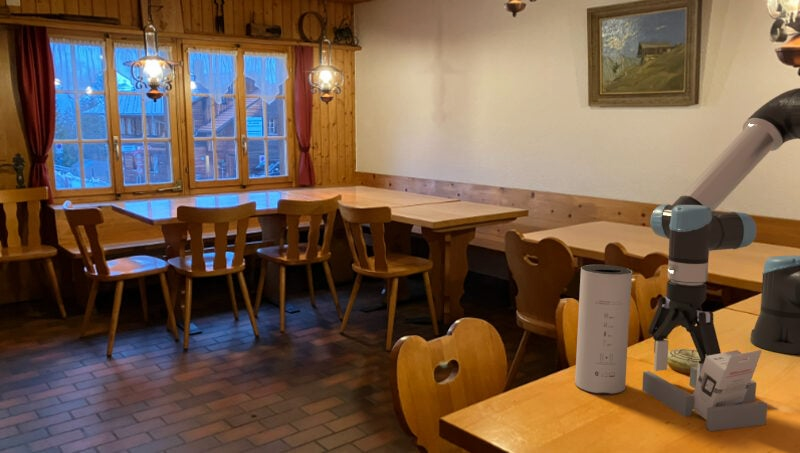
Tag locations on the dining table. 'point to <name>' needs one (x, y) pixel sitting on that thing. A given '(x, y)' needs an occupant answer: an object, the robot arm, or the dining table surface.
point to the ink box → (724, 380)
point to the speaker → (603, 329)
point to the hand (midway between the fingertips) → (680, 381)
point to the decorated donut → (683, 359)
